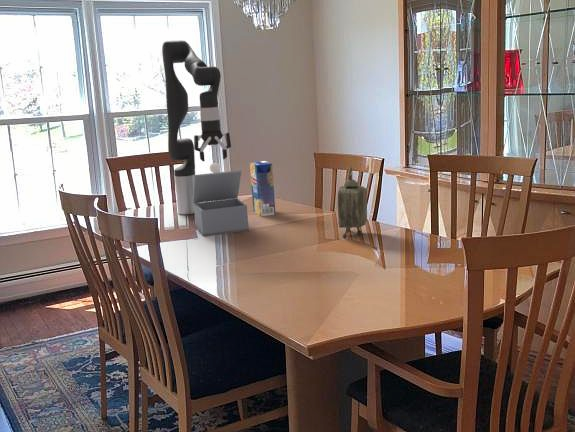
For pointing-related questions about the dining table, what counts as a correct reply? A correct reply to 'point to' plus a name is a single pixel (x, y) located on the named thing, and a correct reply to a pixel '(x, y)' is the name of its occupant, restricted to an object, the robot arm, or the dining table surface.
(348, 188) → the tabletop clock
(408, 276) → the dining table surface
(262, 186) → the beverage box
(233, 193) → the lid flap
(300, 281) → the dining table surface
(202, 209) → the carton
